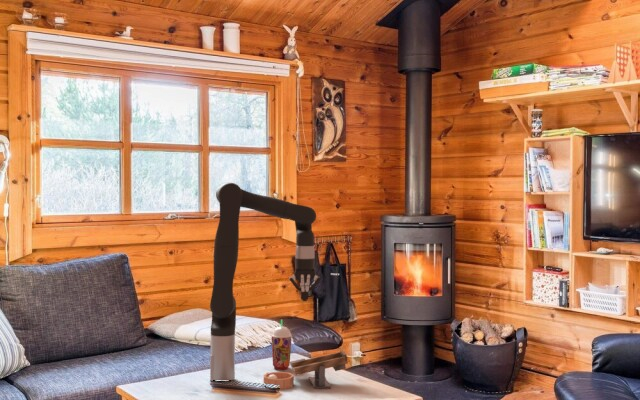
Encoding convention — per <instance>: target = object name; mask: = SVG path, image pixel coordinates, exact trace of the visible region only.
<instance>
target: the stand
mask: <svg viewBox="0 0 640 400" xmlns="http://www.w3.org/2000/svg"><path fill="white" fill-rule="evenodd" d="M308 380H309V382H310V384H311V386H312V387H313V389H314V390H322V389H323V390H326V389H327V390H328V389H329V390H330V389H331V385H330V383H329V382H328V380H327V378H326V369H325V366H319V370H317V371H314V376H309V377H308Z"/></svg>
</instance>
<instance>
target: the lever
mask: <svg viewBox="0 0 640 400" xmlns="http://www.w3.org/2000/svg"><path fill="white" fill-rule="evenodd" d="M348 364H349V361H348V357H347V353H346V352H345V351H344V350H343V349H340V350H339V351H338V352H333V353H329V354H324V355H320V356H315V357H311V358H302V359H297V360H292V361H291V360H290V366H291V369H292V371H293V373H294V375H295V376H298V375H303V374H307V373H311V372H312V373H313V372H315V371H317V370H319V366H325V370H326V369H329V368H330V369H331V368H332V369H333V370H334V371H335V372H337V371H341V370H346V368H347V367H346V365H348Z"/></svg>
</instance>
